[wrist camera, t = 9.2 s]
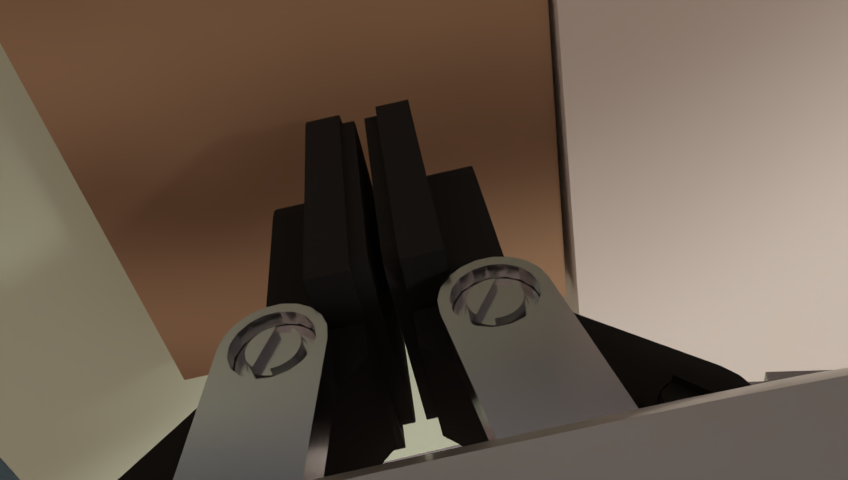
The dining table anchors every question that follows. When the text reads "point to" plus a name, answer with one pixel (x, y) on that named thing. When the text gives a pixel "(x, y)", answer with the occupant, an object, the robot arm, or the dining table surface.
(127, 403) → the mat
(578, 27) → the board
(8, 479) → the dining table surface
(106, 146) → the tile
